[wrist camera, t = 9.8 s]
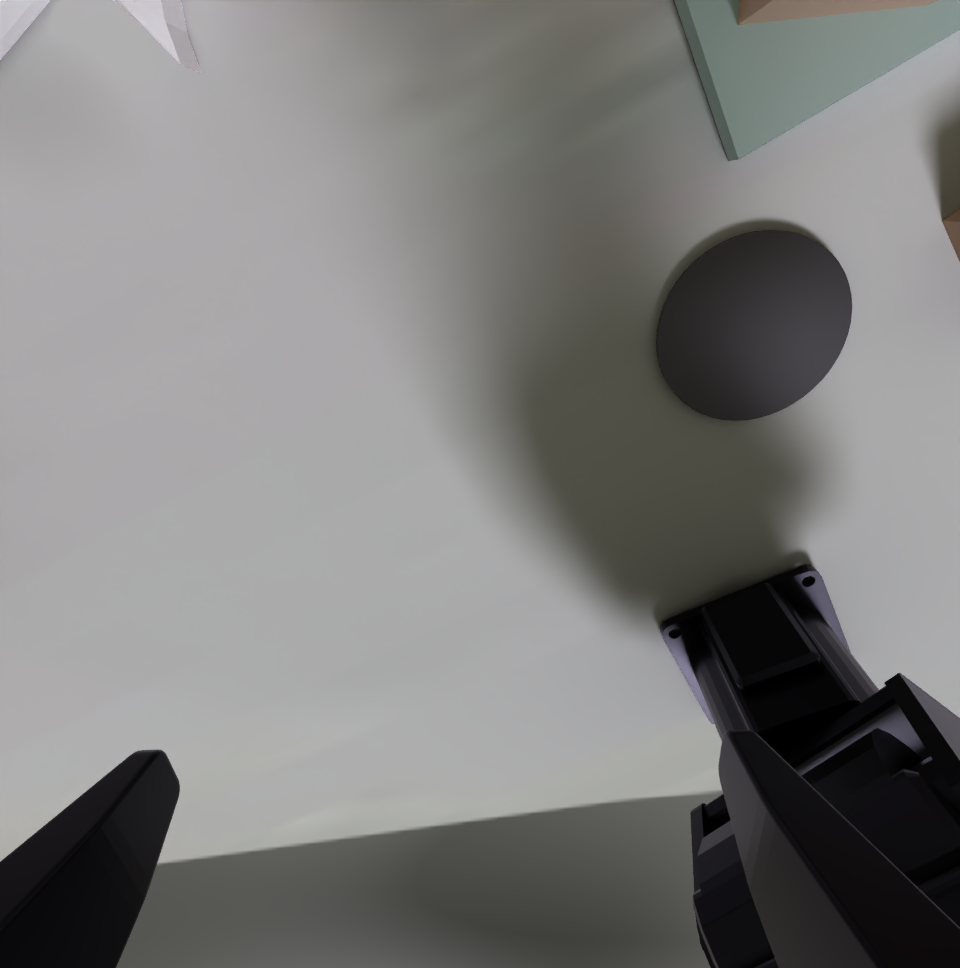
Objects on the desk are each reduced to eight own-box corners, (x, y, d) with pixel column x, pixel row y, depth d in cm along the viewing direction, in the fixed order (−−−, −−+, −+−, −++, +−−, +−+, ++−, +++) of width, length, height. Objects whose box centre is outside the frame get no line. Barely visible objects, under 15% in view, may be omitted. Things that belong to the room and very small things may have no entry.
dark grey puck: (867, 364, 19) (872, 367, 19) (694, 445, 21) (696, 449, 20) (817, 189, 17) (822, 189, 17) (627, 294, 18) (629, 295, 18)
